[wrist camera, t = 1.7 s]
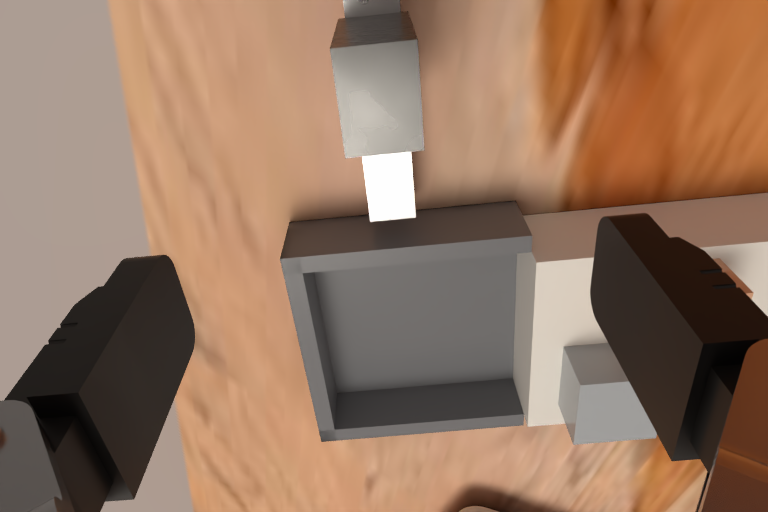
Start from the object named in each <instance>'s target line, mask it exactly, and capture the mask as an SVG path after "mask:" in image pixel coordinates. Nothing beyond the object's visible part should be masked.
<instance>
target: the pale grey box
mask: <svg viewBox="0 0 768 512" xmlns="http://www.w3.org/2000/svg"><path fill="white" fill-rule="evenodd" d="M558 405H559V408H560V410H561V413H562V416H563V418H564V421H565V424H566V426H567V429H568V432H569V434H570V437H571V440H572V442H573V445H575V444H588V443H600V442H612V441H625V440H637V439H650V438H656V435H657V433H656V431H655V429H654V427H653V425H652V423H651V421H650V420H649V418H648V416H647V414H646V412H645V410H644V408H643V407H642V405H641V403H640V401H639V399H638V397H637V395H636V394H635V392H634V390H633V388H632V386H631V384H630V382H629V381H628V379H627V377H626V375H625V373H624V371H623V369H622V368H621V366H620V364H619V362H618V360H617V358H616V356H615V354H614V353H613V351H612V349H611V347H610V345H609V343H600V344H588V345H577V346H565V347H563V357H562V368H561V378H560V389H559V400H558Z"/></svg>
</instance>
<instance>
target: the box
mask: <svg viewBox="0 0 768 512" xmlns="http://www.w3.org/2000/svg"><path fill="white" fill-rule="evenodd" d="M530 252H532V234H531V232H530V229H529V227H528V225H527V223H526V221H525V219H524V217H523V215H522V213H521V211H520V209H519V207H518V205H517V203H516V201H509V202H498V203H488V204H477V205H467V206H456V207H446V208H435V209H424V210H416V218H405V219H395V220H384V221H374V222H370V215H361V216H351V217H340V218H329V219H319V220H308V221H298V222H289V226H288V230H287V234H286V238H285V242H284V246H283V249H282V253H281V257H280V261H281V265H282V270H283V274H284V279H285V283H286V287H287V292H288V296H289V301H290V305H291V309H292V314H293V318H294V323H295V327H296V331H297V336H298V340H299V345H300V349H301V354H302V358H303V362H304V367H305V371H306V376H307V380H308V384H309V389H310V393H311V398H312V402H313V406H314V411H315V415H316V420H317V424H318V428H319V433H320V437H321V442H324V441H336V440H349V439H361V438H373V437H385V436H398V435H410V434H422V433H434V432H446V431H459V430H471V429H483V428H495V427H508V426H520V425H523V422H524V413H523V410H522V406H521V403H520V400H519V396H518V393H517V390H516V386H515V383H514V380H513V364H514V333H515V302H516V271H517V254H519V253H530Z"/></svg>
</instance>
